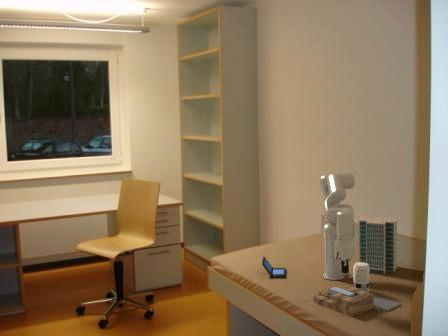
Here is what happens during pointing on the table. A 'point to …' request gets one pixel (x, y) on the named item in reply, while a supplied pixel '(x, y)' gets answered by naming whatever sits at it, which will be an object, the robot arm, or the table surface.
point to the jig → (347, 301)
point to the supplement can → (361, 276)
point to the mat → (385, 303)
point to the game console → (273, 270)
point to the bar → (341, 292)
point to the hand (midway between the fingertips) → (345, 272)
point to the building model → (378, 243)
